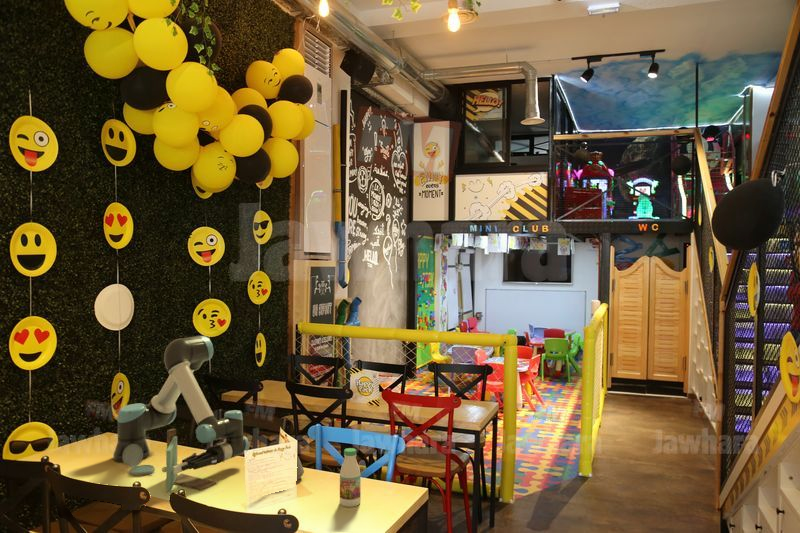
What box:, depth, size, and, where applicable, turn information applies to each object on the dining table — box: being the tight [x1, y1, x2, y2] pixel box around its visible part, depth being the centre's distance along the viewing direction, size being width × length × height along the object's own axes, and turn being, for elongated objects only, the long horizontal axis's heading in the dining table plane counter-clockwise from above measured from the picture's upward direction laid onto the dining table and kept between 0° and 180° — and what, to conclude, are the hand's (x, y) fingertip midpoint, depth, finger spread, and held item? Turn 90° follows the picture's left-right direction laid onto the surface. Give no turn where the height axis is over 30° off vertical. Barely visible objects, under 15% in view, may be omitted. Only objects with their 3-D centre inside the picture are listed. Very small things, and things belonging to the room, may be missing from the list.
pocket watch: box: [122, 444, 156, 477], centre depth 257 cm, size 10×11×15 cm
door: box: [161, 435, 178, 493], centre depth 240 cm, size 19×4×16 cm, turn 13°
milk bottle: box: [339, 447, 362, 508], centre depth 224 cm, size 8×8×20 cm
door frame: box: [166, 428, 218, 491], centre depth 245 cm, size 22×8×20 cm, turn 61°
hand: (173, 470), depth 233 cm, fingers closed
